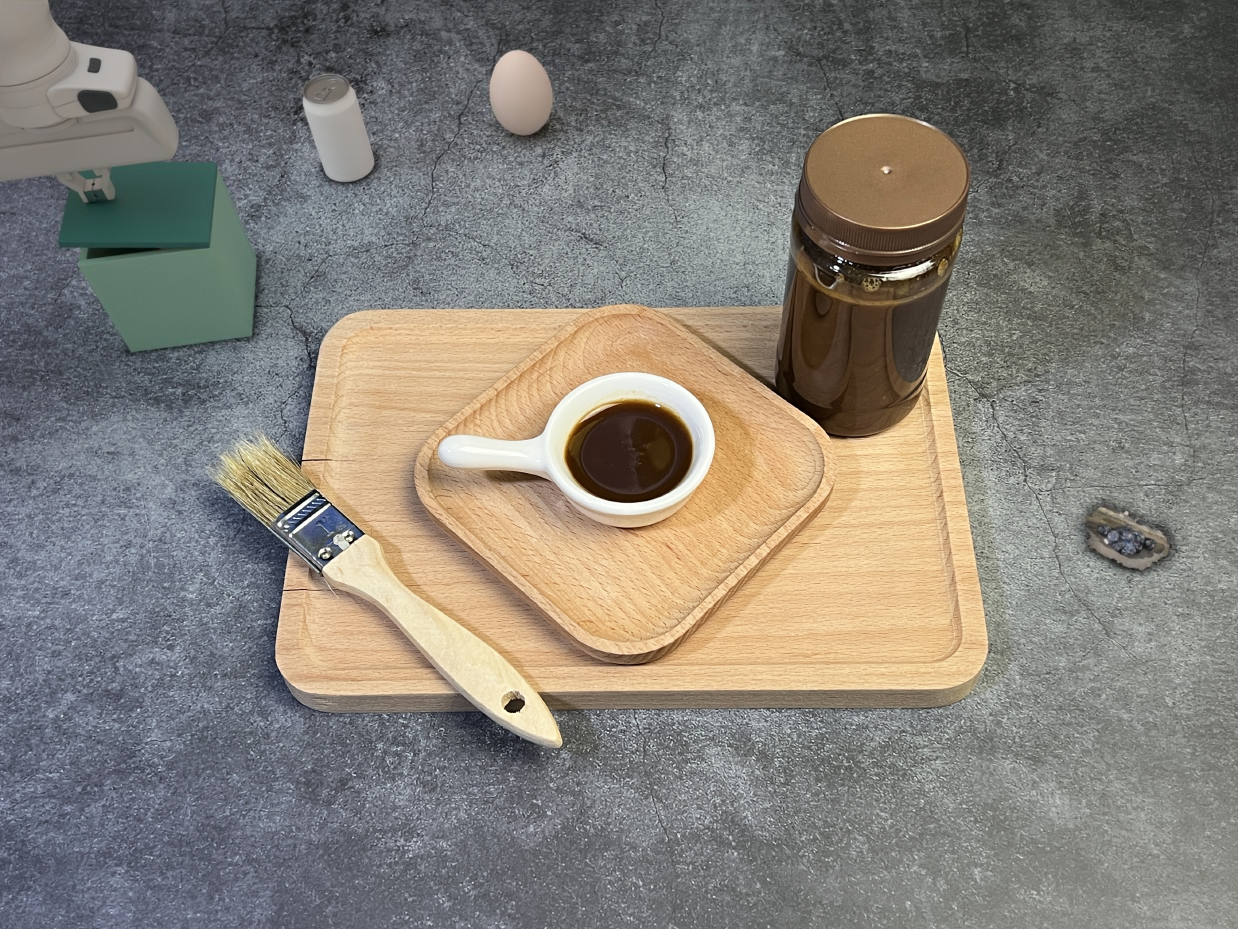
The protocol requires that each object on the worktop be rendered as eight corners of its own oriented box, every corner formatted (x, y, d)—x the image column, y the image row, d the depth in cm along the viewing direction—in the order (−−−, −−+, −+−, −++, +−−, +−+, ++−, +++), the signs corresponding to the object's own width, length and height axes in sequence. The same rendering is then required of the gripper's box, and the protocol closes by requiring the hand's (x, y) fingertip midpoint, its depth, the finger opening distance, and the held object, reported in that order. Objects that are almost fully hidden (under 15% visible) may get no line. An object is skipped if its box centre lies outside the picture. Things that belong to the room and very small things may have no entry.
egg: (500, 110, 147) (488, 33, 137) (559, 111, 146) (552, 34, 137) (491, 149, 142) (478, 72, 133) (552, 151, 141) (543, 74, 132)
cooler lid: (59, 247, 111) (57, 241, 110) (76, 166, 118) (74, 160, 118) (209, 247, 114) (208, 242, 113) (217, 168, 121) (216, 162, 120)
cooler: (131, 353, 124) (77, 265, 113) (143, 274, 132) (93, 184, 120) (252, 337, 125) (210, 248, 114) (257, 259, 132) (218, 168, 121)
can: (385, 159, 142) (363, 79, 132) (356, 190, 139) (331, 110, 129) (344, 145, 144) (320, 65, 134) (314, 175, 141) (287, 96, 131)
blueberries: (1080, 505, 108) (1086, 494, 106) (1166, 515, 107) (1173, 504, 105) (1084, 564, 104) (1091, 554, 102) (1173, 575, 103) (1181, 565, 101)
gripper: (-84, 119, 101) (-7, 231, 112) (141, 90, 102) (195, 204, 113) (-69, 77, 104) (4, 190, 116) (148, 50, 105) (200, 164, 117)
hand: (100, 197), depth 114 cm, fingers closed
